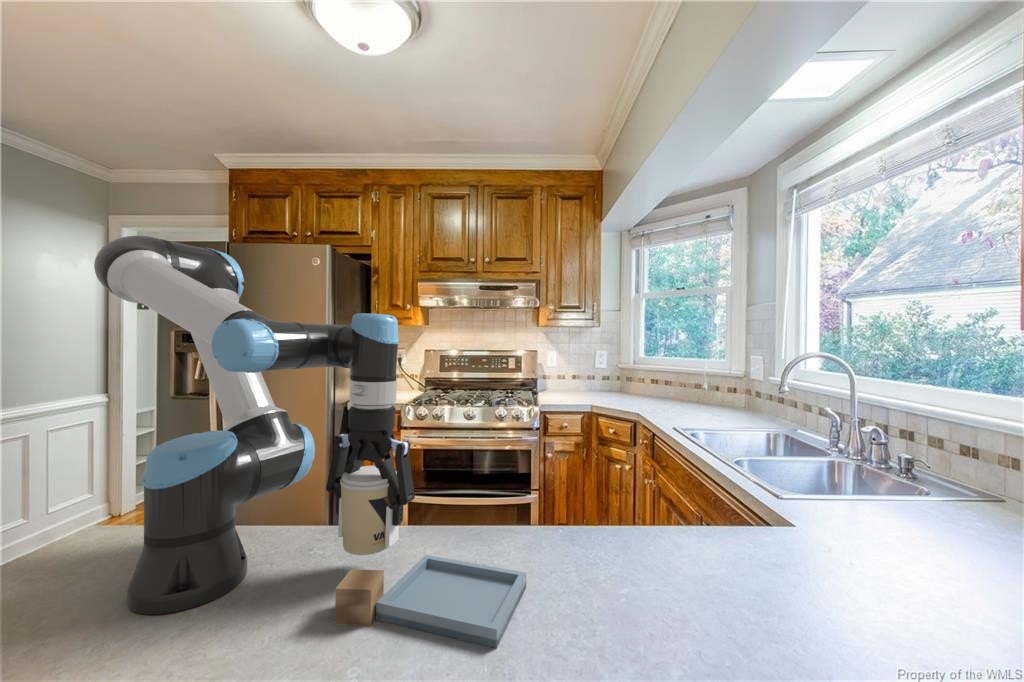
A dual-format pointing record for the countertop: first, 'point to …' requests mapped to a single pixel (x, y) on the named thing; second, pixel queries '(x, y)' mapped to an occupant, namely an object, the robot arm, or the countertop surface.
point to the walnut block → (358, 597)
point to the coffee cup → (364, 511)
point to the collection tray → (454, 599)
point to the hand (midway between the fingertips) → (368, 538)
